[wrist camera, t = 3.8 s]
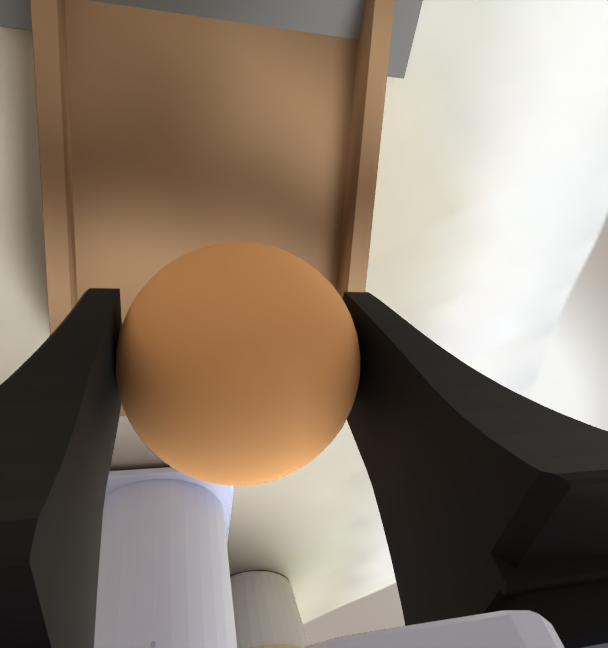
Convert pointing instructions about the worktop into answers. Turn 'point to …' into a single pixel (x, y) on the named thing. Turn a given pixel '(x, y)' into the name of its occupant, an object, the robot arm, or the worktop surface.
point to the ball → (237, 363)
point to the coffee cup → (266, 611)
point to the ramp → (201, 142)
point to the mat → (270, 18)
